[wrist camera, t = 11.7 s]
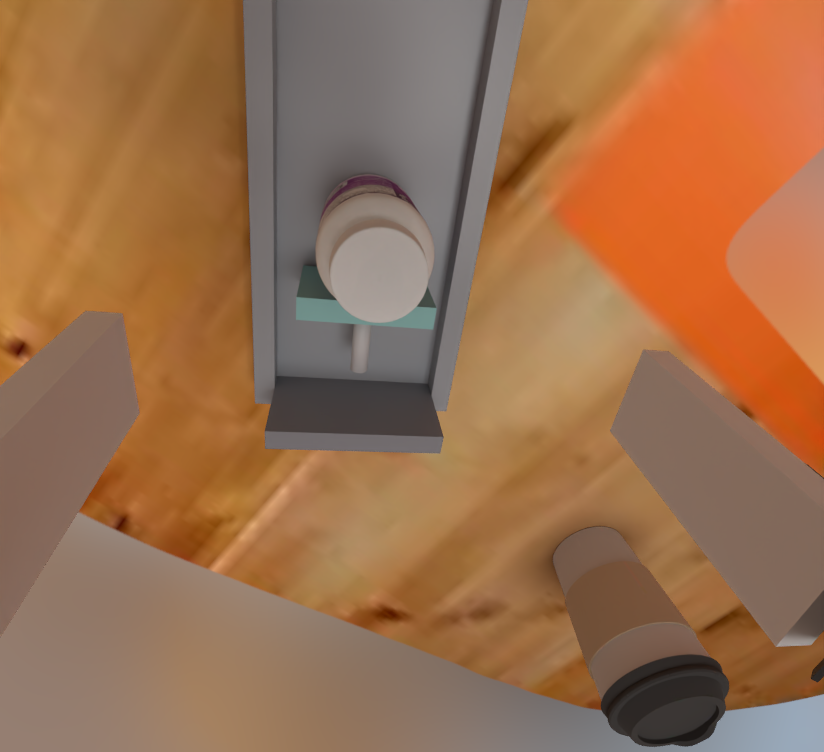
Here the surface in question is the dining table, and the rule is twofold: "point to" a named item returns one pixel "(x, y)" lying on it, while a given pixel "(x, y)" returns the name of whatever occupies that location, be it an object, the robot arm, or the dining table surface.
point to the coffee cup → (637, 644)
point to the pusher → (325, 308)
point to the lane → (379, 155)
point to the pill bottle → (374, 249)
